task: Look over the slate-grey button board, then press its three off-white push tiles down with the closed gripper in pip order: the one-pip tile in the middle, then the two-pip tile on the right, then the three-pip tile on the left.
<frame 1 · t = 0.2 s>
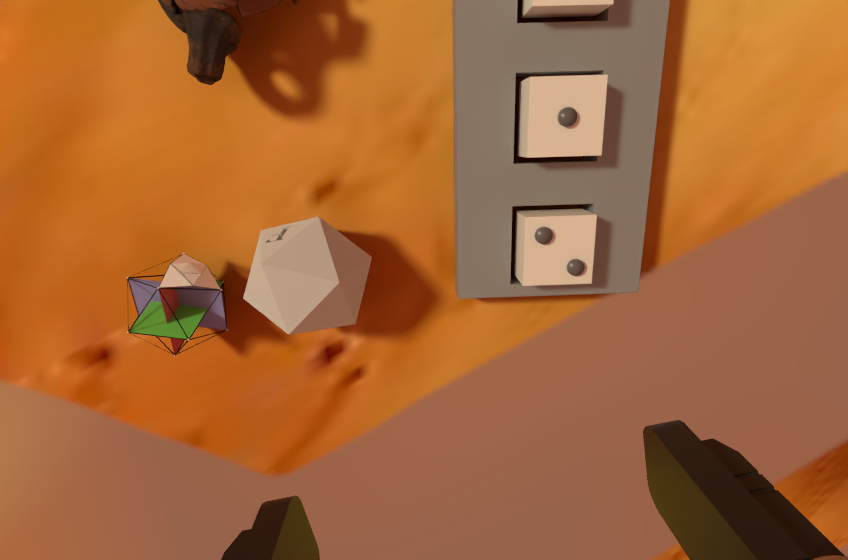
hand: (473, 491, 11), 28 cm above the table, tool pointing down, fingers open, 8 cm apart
geometric puzzle: (198, 291, 38), on the table
die: (319, 263, 38), on the table
one pip tile: (560, 117, 32), point 3 cm above the table, slide at 0.0 cm
button board: (547, 119, 35), on the table
two pip tile: (553, 246, 35), point 3 cm above the table, slide at 0.0 cm
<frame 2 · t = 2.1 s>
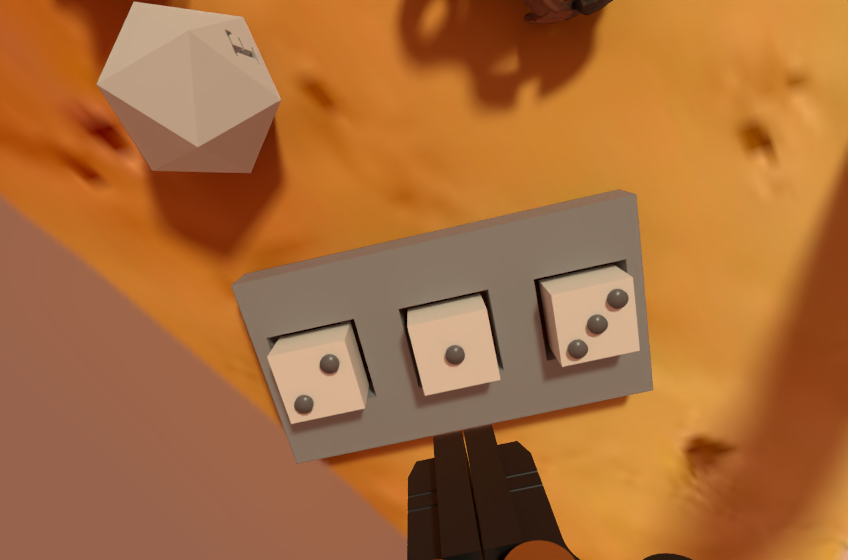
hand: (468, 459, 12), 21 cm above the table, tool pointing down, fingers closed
die: (225, 99, 29), on the table
one pip tile: (453, 344, 31), point 3 cm above the table, slide at 0.0 cm
three pip tile: (588, 315, 31), point 3 cm above the table, slide at 0.0 cm
button board: (449, 325, 34), on the table
two pip tile: (320, 372, 31), point 3 cm above the table, slide at 0.0 cm
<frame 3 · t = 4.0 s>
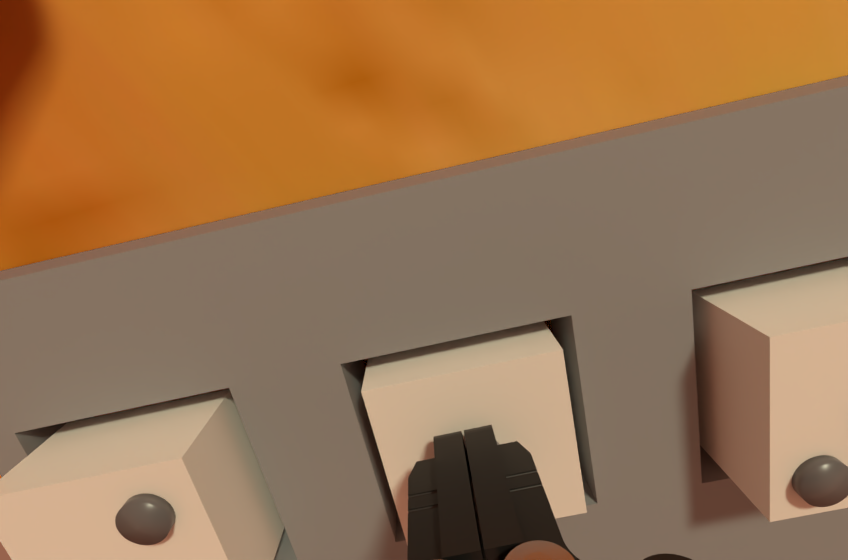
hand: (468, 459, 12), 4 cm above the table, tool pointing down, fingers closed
one pip tile: (473, 424, 13), point 2 cm above the table, slide at 1.3 cm, touching gripper
three pip tile: (832, 383, 12), point 3 cm above the table, slide at 0.0 cm
button board: (466, 389, 15), on the table
two pip tile: (151, 518, 13), point 3 cm above the table, slide at 0.0 cm
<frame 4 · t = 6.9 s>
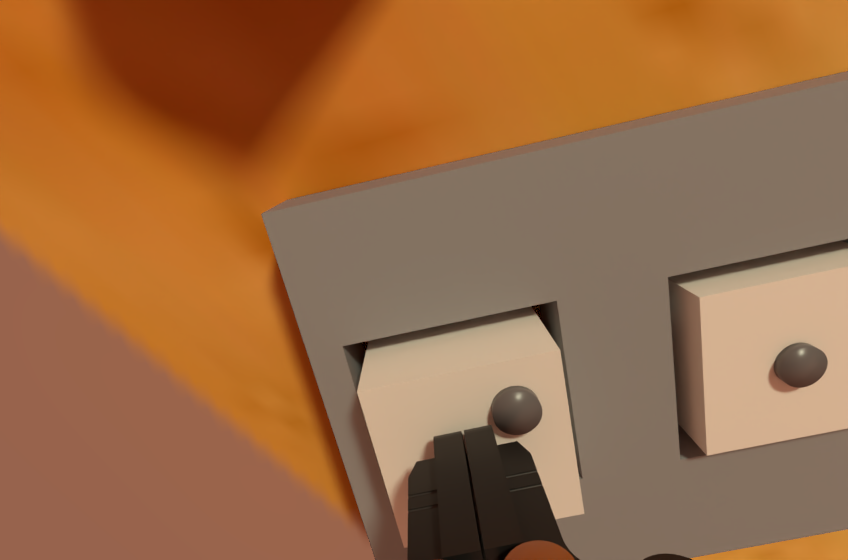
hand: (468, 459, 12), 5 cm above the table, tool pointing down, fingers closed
one pip tile: (761, 341, 14), point 2 cm above the table, slide at 1.4 cm
button board: (725, 319, 16), on the table
two pip tile: (470, 424, 13), point 3 cm above the table, slide at 0.2 cm, touching gripper
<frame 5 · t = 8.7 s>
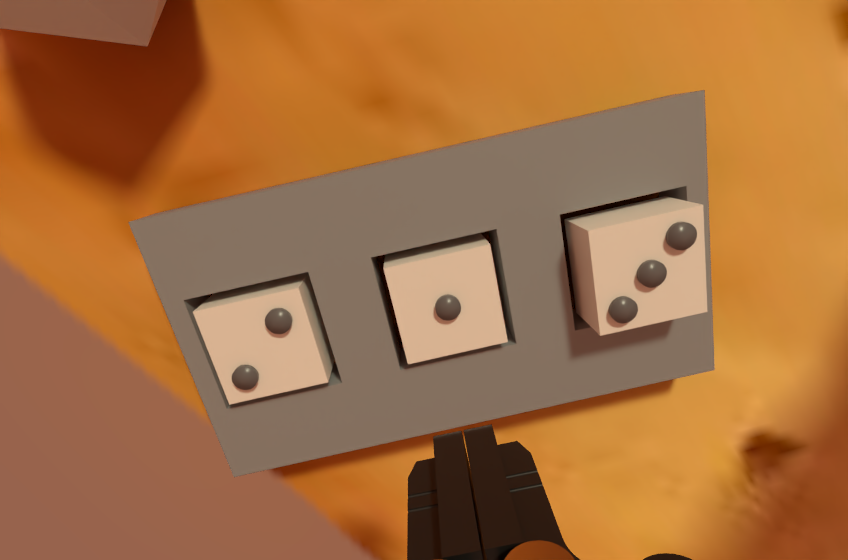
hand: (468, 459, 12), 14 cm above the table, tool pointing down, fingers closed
one pip tile: (444, 297, 24), point 2 cm above the table, slide at 1.4 cm
three pip tile: (635, 264, 22), point 3 cm above the table, slide at 0.0 cm
button board: (441, 286, 25), on the table
two pip tile: (269, 336, 24), point 2 cm above the table, slide at 1.4 cm
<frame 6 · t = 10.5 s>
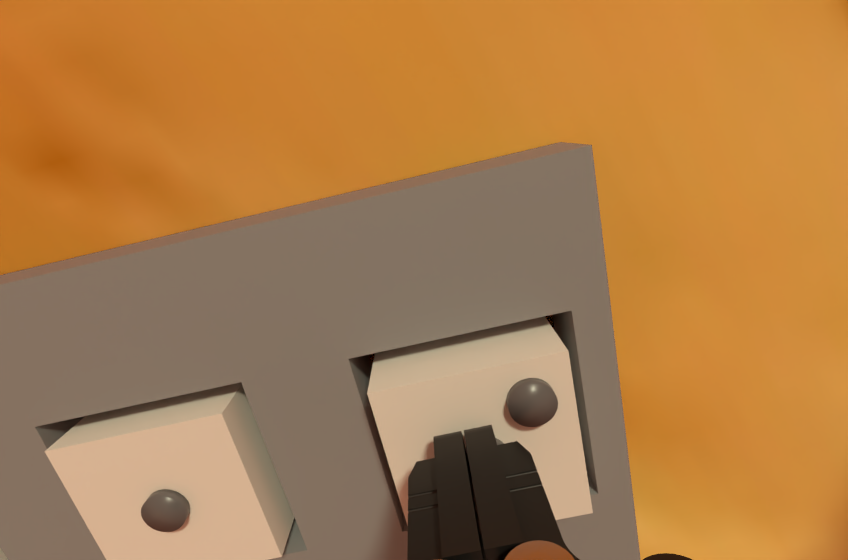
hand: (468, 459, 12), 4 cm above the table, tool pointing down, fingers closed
one pip tile: (190, 473, 15), point 2 cm above the table, slide at 1.4 cm
three pip tile: (479, 425, 13), point 2 cm above the table, slide at 0.9 cm, touching gripper
button board: (213, 438, 16), on the table
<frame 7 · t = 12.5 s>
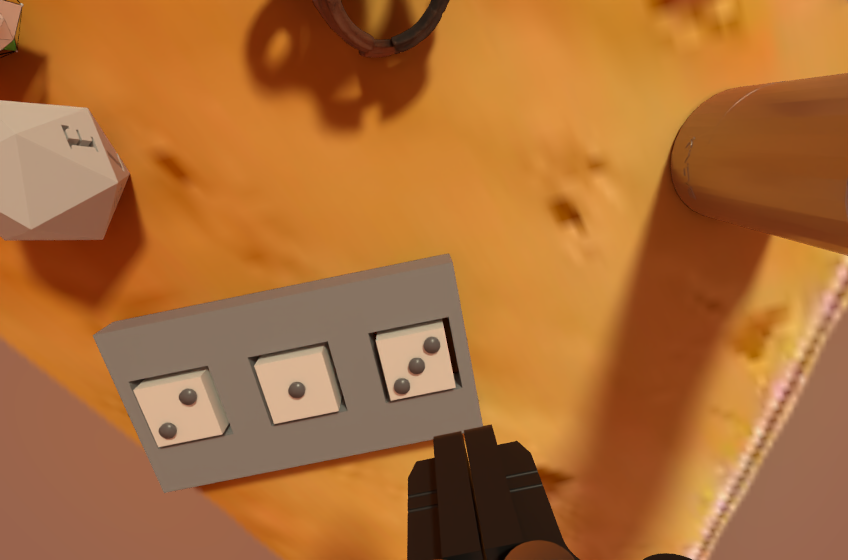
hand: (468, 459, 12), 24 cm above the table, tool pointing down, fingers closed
die: (87, 169, 33), on the table
one pip tile: (301, 379, 36), point 2 cm above the table, slide at 1.4 cm
three pip tile: (416, 356, 36), point 2 cm above the table, slide at 1.4 cm
button board: (305, 369, 38), on the table
two pip tile: (186, 402, 36), point 2 cm above the table, slide at 1.4 cm
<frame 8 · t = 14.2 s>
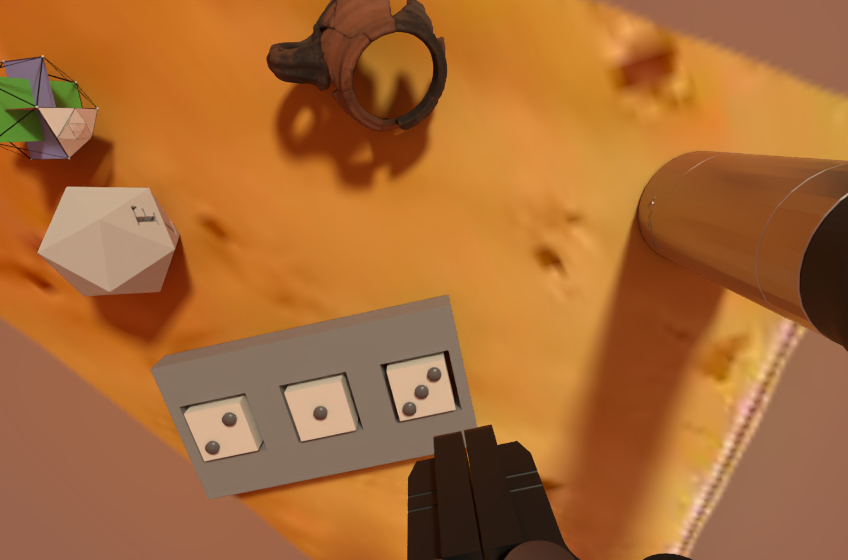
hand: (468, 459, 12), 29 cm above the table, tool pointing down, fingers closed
geometric puzzle: (69, 112, 36), on the table
die: (145, 231, 39), on the table
pottery mug: (363, 63, 36), on the table
one pip tile: (323, 403, 42), point 2 cm above the table, slide at 1.4 cm
three pip tile: (421, 383, 42), point 2 cm above the table, slide at 1.4 cm
button board: (326, 393, 44), on the table
two pip tile: (227, 423, 43), point 2 cm above the table, slide at 1.4 cm
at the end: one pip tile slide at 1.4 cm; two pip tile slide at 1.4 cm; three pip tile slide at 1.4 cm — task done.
